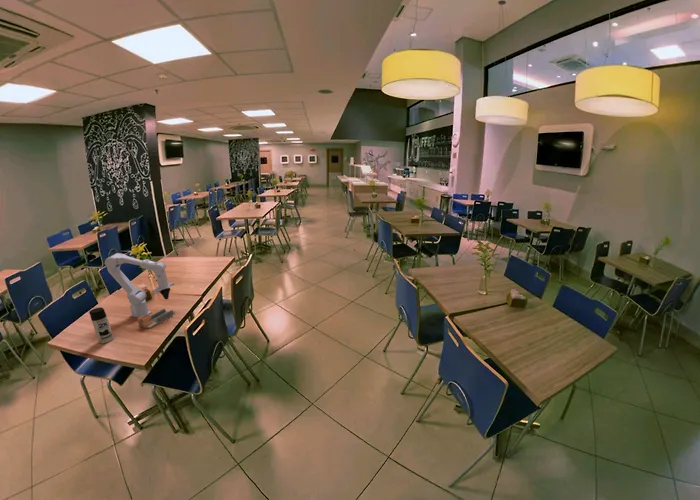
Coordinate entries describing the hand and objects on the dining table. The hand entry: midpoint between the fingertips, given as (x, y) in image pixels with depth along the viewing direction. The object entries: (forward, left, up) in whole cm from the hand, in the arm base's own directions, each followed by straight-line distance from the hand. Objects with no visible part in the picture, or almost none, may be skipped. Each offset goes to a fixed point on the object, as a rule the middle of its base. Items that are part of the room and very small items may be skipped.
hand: (166, 298), depth 195 cm
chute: (+2, -11, -10) cm, 15 cm away
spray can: (-7, -36, -10) cm, 38 cm away
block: (+2, -18, -9) cm, 20 cm away
